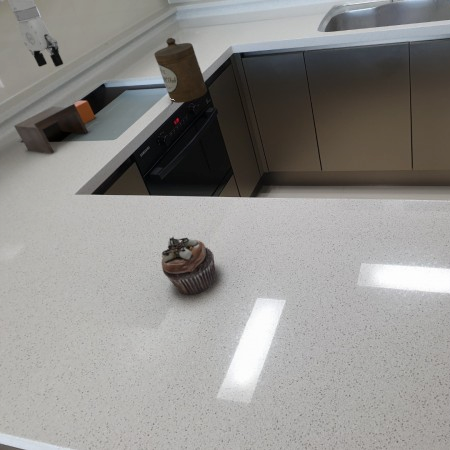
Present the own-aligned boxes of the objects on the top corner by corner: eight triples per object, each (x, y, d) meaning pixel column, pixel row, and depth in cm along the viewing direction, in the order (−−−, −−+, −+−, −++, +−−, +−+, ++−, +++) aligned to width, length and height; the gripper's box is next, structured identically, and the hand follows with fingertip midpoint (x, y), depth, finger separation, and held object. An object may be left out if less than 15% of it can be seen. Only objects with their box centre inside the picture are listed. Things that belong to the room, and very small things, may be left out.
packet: (69, 127, 177) (60, 110, 173) (87, 117, 183) (79, 100, 179) (77, 127, 175) (68, 110, 171) (95, 117, 181) (87, 100, 177)
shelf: (28, 150, 165) (11, 121, 158) (64, 130, 176) (50, 102, 169) (51, 153, 158) (35, 123, 152) (88, 132, 169) (74, 103, 162)
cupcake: (219, 292, 85) (203, 251, 80) (168, 302, 86) (148, 262, 80) (221, 259, 93) (207, 220, 87) (175, 269, 93) (157, 230, 88)
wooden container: (167, 96, 186) (146, 41, 173) (201, 85, 190) (184, 30, 177) (175, 106, 174) (154, 47, 162) (211, 94, 178) (194, 35, 166)
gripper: (3, 19, 158) (28, 68, 167) (32, 16, 149) (57, 69, 159) (22, 13, 163) (45, 61, 172) (52, 10, 154) (74, 61, 164)
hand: (51, 65), depth 166 cm, fingers open, 9 cm apart
